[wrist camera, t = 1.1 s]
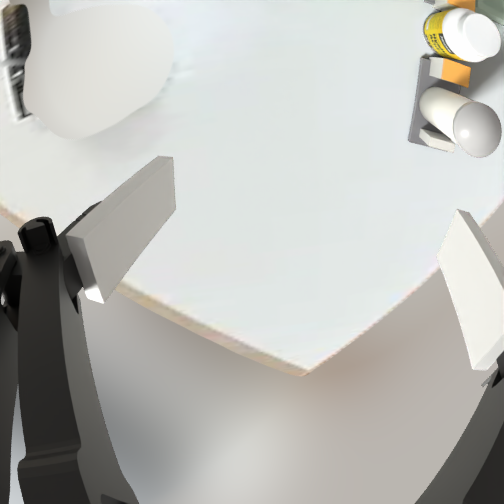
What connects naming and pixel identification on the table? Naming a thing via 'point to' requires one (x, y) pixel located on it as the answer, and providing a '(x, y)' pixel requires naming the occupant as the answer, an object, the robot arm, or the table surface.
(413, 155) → the table surface
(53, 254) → the robot arm
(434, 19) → the supplement bottle
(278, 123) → the table surface
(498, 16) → the tray
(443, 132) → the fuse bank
